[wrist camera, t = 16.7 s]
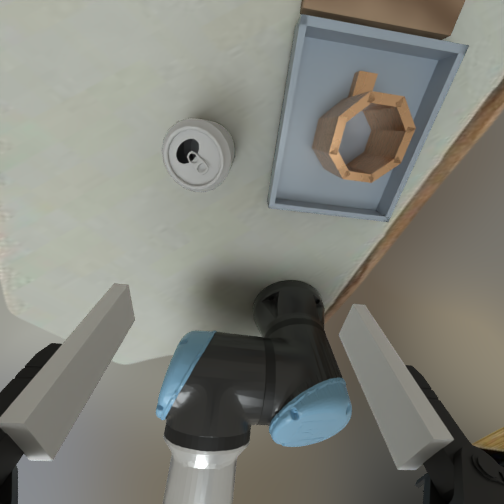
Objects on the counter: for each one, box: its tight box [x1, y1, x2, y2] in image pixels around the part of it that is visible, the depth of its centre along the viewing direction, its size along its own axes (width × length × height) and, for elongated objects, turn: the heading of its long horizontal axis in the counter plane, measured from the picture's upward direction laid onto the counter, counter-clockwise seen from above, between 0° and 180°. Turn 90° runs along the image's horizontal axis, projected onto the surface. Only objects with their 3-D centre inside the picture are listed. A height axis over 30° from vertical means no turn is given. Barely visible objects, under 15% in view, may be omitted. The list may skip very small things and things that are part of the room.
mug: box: [312, 71, 416, 183], centre depth 28 cm, size 12×9×8 cm
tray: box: [267, 14, 469, 222], centre depth 31 cm, size 22×20×4 cm
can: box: [162, 118, 235, 192], centre depth 28 cm, size 8×8×12 cm
